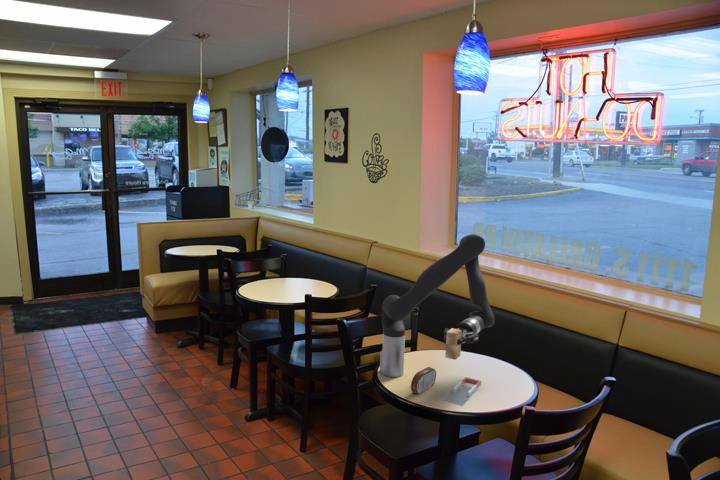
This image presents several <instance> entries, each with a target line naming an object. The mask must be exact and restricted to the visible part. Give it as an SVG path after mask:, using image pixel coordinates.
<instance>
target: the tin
mask: <svg viewBox="0 0 720 480" xmlns="http://www.w3.org/2000/svg"><path fill="white" fill-rule="evenodd" d="M436 378H437V371H436V369H435V368H433V367H430V366H427V367H426V368H423V369H420V371H417V372H416V373H415V374H414V375H413V377H412V379H411V384H410V391H411V392H412V393H414V394H417V395H420V394H421V393H423V392H425V391H427V390H428V389H430V388H431V387H433V386H434V384H435V382H436V380H437V379H436Z"/></svg>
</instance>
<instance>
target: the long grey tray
mask: <svg viewBox="0 0 720 480" xmlns="http://www.w3.org/2000/svg"><path fill="white" fill-rule="evenodd" d="M466 382H468V383H473V384H474V385H473V386H472V387H469V386H467V385H465V384H466ZM481 385H482V380H479V379H475V378H471V377H467V376H464V377H463V379H462V380H460V381H459V382H458V383H457V384H456V385H455V386H454V387H453V388H452V390H451V391H450V393H448V394H447V395H446V396H445V397H444V398H443V399H442V401H443V402H448V403H452V404H454V405H458V406H462V407H463V406H464V405H465V404H466V403H467V402H468V401H469V400H470V399H471V398H472V396H473V395H474V394H475V393H476V392H477V391H478V390H479V389H478V388H479V387H480V386H481Z"/></svg>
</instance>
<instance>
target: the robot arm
mask: <svg viewBox="0 0 720 480" xmlns="http://www.w3.org/2000/svg"><path fill="white" fill-rule="evenodd" d="M458 244H459V246H457V247H456V248H455V249H454V250H453V251H451V252H450V253H448V254H446V255H445V256H443V257H440V258H439V259H438V260H436V261H435V262H434V263H432V264H431V265H429V266H428V267H427V268H426V269H425V270H423V271H422V272H421V273H420V275H419V276H418V278H417V279H416V281H415V282H414V284H413V286H412V287H411V288H410V289H409V290H408V291H407V292H406V293H404V294H403V295H401V296H399V295H396V294H391V295H390V294H389V295H388V296H387V297H385V298H384V299H383V302H382V307H381V326H382V331H383V332H382V349H381V350H380V354H379V355H380V357H379V359H380V360H379V373H380V374H382V375H384V376H386V377H391V378H397V377H398V378H399V377H402V376H404V370H405V369H404V368H405V366H404V365H405V348H406V347H405V346H406V344H405V343H406V327H405V325H404V324H405V323H404V319H406V318H407V317H408V316H409V315H410V314H411V313H412V312H413V311H414V310H415V308H417V307H418V305H420V304H421V303H422V302H423V301H425V300H426V299H427V298H428V297H429V296H430V295H431V294H433V292H435V291H436V290H438V289H439V288H440V287H442V286H443V285H444V284H445V283H446V282H447V281H448V280H449V279H451V277H454V275H455V274H456V273H457V272H458V271H459V270H460V269H461V268H462V267H464V269H465V273H466V277H467V284H468V292H469V300H470V304H471V305H472V306H477V307H480V308H481V309H482V310H475V311H474V310H473V311H471V312H469V315H468V317H467V318H466V319H463V320H462V321H461V322H459V323H458V324H456V326H455V328H454V329H458V330H462V337H460V338H459V339H458V340H457V345H460V344H461V345H462V344H465V343H466V344H467V345H469V344H472V343H476V342H479V333H480V332H482V330H483V329H484V328H491V327H493V325H494V324H495V315H494V312H493V310H492V308H491V306H490V303H489V301H488V294H487V287H486V286H487V285H486V283H485V280H484V277H483V274H482V270H481V268H480V263H479V255H481V254H482V253H483V252H484V250H485V249H486V248H485V247H486V240H485V239H484V237H483V236H481V235H480V234H477V233H476V234H475V233H473V234H472V233H471V234H467V235H465V236H463V237H461V239H460V240H459V243H458ZM449 330H450V329H449V327H445V328H444V333H443V334H444V335H443V339H444V342H445V343H446V337H447V331H449Z"/></svg>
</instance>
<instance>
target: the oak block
mask: <svg viewBox="0 0 720 480" xmlns="http://www.w3.org/2000/svg"><path fill="white" fill-rule="evenodd" d="M460 337H462V330H458V329H455V328H453V327H451V328H450V329H449V331H447V337H446V342H445V355H444V356H445V358H447V359H450V360H455V361H456V360H457V359H458V358H460V356H461V349H462V344H460V345H457V340H458V339H459V338H460Z"/></svg>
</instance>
